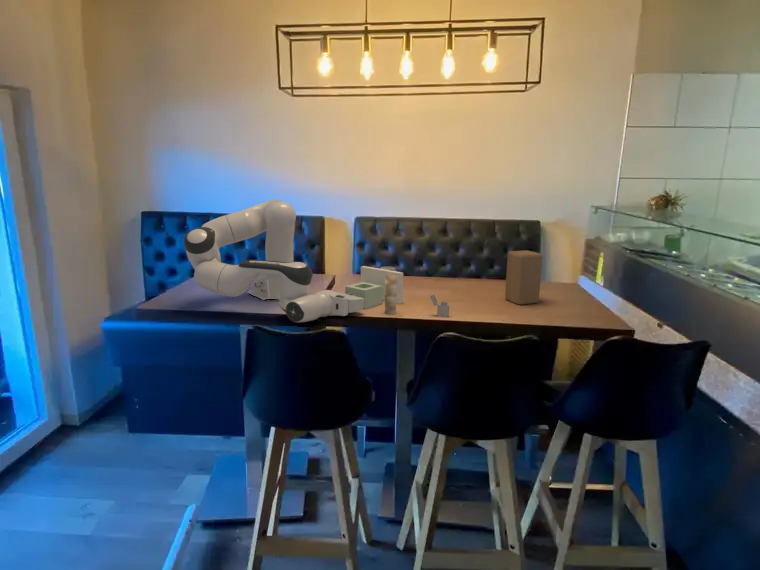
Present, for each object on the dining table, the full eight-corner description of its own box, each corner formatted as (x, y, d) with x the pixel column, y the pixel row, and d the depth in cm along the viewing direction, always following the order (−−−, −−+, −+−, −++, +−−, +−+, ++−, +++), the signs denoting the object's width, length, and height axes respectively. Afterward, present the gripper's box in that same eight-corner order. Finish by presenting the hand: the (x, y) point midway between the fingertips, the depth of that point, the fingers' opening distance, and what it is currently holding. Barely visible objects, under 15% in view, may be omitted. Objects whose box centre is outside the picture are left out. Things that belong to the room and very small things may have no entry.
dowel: (382, 315, 184) (382, 275, 181) (389, 313, 187) (389, 273, 184) (391, 318, 182) (391, 276, 178) (398, 315, 185) (398, 275, 181)
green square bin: (345, 304, 195) (345, 286, 193) (362, 299, 202) (362, 281, 201) (365, 308, 189) (365, 290, 187) (382, 303, 196) (382, 285, 195)
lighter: (448, 315, 186) (449, 294, 184) (448, 316, 184) (449, 295, 182) (429, 314, 187) (429, 293, 185) (428, 315, 185) (429, 294, 183)
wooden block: (524, 297, 212) (527, 249, 208) (539, 303, 203) (543, 253, 199) (503, 299, 209) (507, 251, 204) (518, 305, 200) (522, 255, 195)
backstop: (327, 307, 195) (327, 273, 192) (363, 296, 211) (364, 265, 208) (367, 317, 182) (367, 281, 179) (402, 305, 198) (403, 272, 195)
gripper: (307, 306, 188) (334, 299, 198) (348, 317, 175) (374, 309, 186) (307, 289, 186) (334, 283, 197) (348, 299, 174) (374, 292, 184)
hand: (354, 295), depth 191 cm, fingers closed, pressing on green square bin
